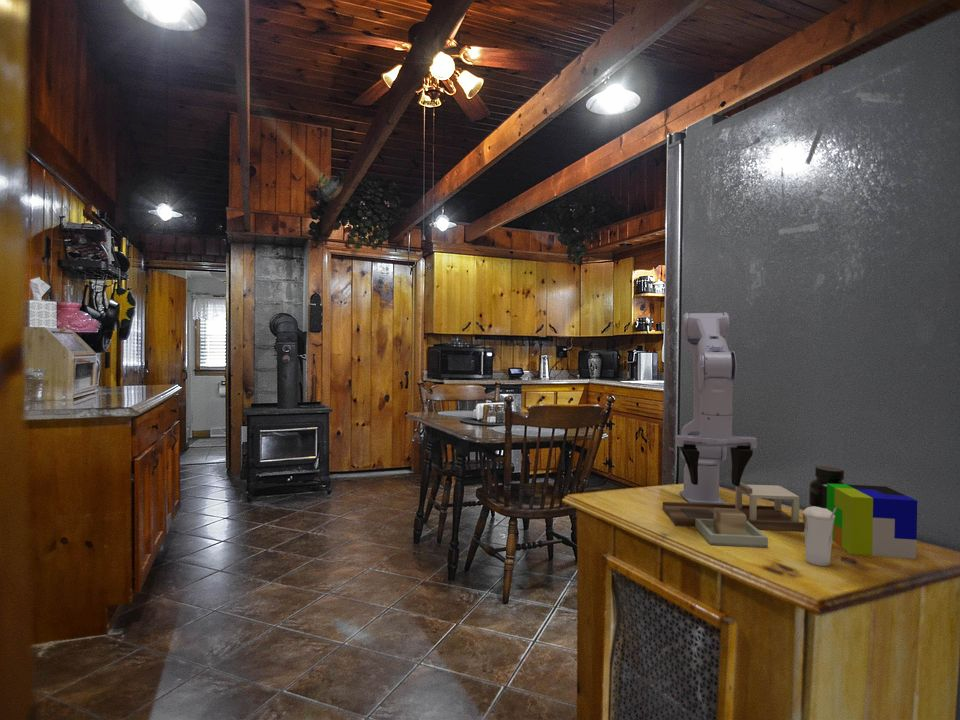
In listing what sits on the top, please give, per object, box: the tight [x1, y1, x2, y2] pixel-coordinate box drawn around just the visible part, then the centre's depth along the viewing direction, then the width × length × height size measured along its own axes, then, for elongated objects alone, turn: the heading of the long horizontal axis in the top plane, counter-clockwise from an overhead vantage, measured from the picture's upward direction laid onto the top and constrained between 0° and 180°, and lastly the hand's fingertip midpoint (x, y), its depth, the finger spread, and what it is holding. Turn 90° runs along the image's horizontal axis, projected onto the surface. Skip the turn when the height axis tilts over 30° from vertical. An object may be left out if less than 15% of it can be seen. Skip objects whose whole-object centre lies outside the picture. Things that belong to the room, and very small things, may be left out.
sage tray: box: [694, 519, 769, 549], centre depth 102 cm, size 10×10×2 cm
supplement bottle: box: [807, 465, 846, 509], centre depth 108 cm, size 7×7×12 cm
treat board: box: [662, 501, 804, 532], centre depth 113 cm, size 12×24×2 cm, turn 83°
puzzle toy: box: [827, 483, 918, 560], centre depth 98 cm, size 10×10×10 cm
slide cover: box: [734, 480, 800, 522], centre depth 113 cm, size 9×10×6 cm
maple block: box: [714, 508, 746, 535], centre depth 102 cm, size 4×4×4 cm
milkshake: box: [802, 506, 837, 567], centre depth 90 cm, size 4×5×10 cm
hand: (714, 484), depth 105 cm, fingers open, 7 cm apart
